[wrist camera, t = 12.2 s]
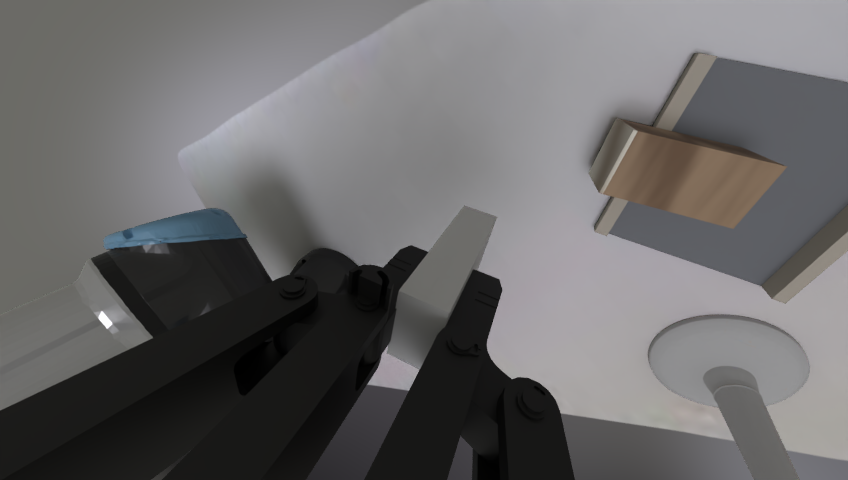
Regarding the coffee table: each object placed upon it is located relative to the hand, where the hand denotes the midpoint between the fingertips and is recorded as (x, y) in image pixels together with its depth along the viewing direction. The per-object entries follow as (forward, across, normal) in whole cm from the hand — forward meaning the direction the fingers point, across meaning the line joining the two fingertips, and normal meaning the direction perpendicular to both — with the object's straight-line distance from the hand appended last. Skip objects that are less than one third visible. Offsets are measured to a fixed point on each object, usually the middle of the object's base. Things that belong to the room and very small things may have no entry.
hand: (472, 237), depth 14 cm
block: (+17, +7, +2) cm, 19 cm away
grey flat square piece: (+21, +18, +2) cm, 28 cm away
